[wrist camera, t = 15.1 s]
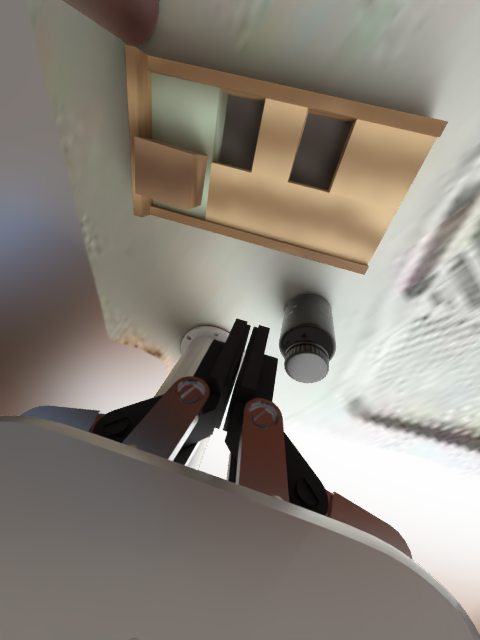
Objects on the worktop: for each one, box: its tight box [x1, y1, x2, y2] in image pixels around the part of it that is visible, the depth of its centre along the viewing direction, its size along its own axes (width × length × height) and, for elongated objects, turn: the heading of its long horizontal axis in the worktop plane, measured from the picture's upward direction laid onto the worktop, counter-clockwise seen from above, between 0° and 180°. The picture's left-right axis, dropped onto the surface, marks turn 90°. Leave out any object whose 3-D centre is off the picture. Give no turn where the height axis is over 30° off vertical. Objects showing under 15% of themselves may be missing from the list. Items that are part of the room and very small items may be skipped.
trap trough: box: [125, 45, 448, 275], centre depth 26 cm, size 14×28×6 cm, turn 79°
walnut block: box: [134, 136, 208, 210], centre depth 26 cm, size 5×6×4 cm
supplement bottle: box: [279, 294, 336, 383], centre depth 31 cm, size 7×7×12 cm
